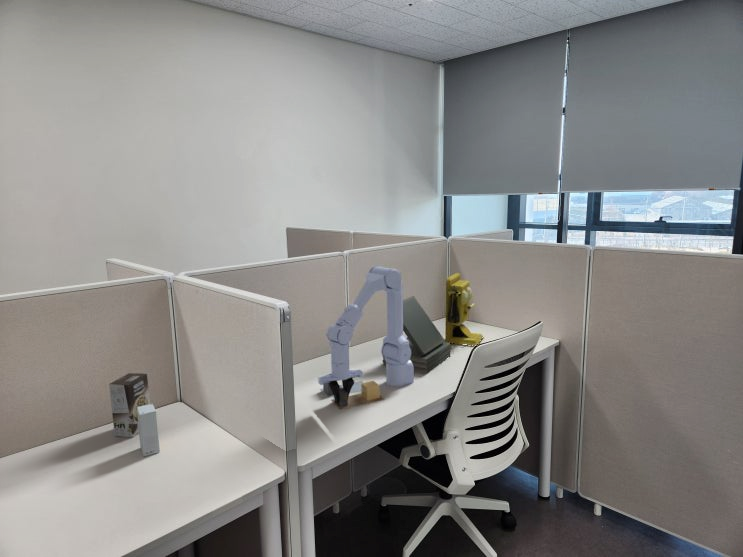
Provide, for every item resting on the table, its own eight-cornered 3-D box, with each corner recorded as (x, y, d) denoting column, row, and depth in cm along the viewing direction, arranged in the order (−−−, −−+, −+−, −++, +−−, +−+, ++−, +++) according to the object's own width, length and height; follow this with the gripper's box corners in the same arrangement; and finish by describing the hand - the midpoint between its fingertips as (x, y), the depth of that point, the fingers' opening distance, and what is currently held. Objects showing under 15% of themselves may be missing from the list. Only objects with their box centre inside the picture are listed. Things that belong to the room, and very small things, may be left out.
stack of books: (426, 375, 185) (426, 311, 181) (382, 365, 196) (381, 305, 191) (450, 357, 204) (451, 299, 200) (409, 349, 215) (409, 294, 210)
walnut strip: (374, 393, 168) (374, 378, 167) (385, 402, 161) (385, 386, 160) (331, 402, 162) (330, 387, 161) (340, 412, 155) (339, 396, 154)
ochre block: (373, 393, 166) (373, 380, 165) (379, 398, 162) (379, 385, 161) (361, 395, 164) (361, 383, 163) (367, 400, 160) (367, 387, 159)
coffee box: (133, 438, 141) (127, 385, 138) (113, 436, 142) (107, 383, 139) (153, 423, 149) (148, 373, 147) (134, 421, 151) (128, 372, 148)
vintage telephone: (471, 353, 208) (473, 284, 202) (439, 349, 213) (440, 282, 208) (487, 333, 235) (489, 272, 230) (459, 330, 241) (460, 270, 236)
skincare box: (160, 452, 133) (156, 411, 130) (143, 457, 130) (138, 415, 128) (156, 442, 138) (152, 403, 136) (140, 447, 135) (135, 406, 133)
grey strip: (361, 383, 177) (361, 369, 176) (371, 391, 170) (370, 376, 169) (319, 391, 170) (319, 377, 169) (327, 400, 163) (327, 385, 162)
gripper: (355, 354, 163) (356, 392, 165) (314, 361, 157) (316, 400, 159) (364, 360, 157) (365, 400, 159) (322, 368, 150) (323, 409, 153)
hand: (341, 401), depth 159 cm, fingers closed on walnut strip, 2 cm apart
